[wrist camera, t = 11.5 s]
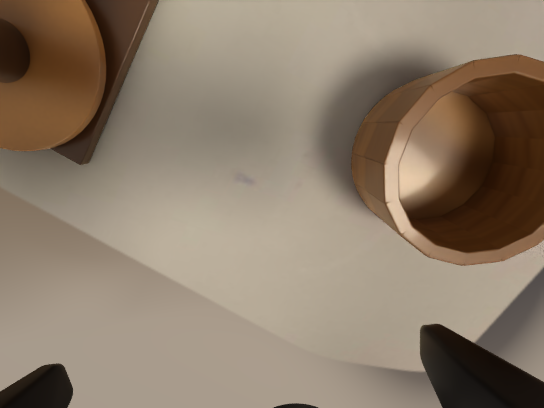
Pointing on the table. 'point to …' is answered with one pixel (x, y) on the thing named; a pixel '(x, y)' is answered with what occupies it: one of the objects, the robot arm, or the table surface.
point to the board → (111, 64)
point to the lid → (48, 72)
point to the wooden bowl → (459, 160)
